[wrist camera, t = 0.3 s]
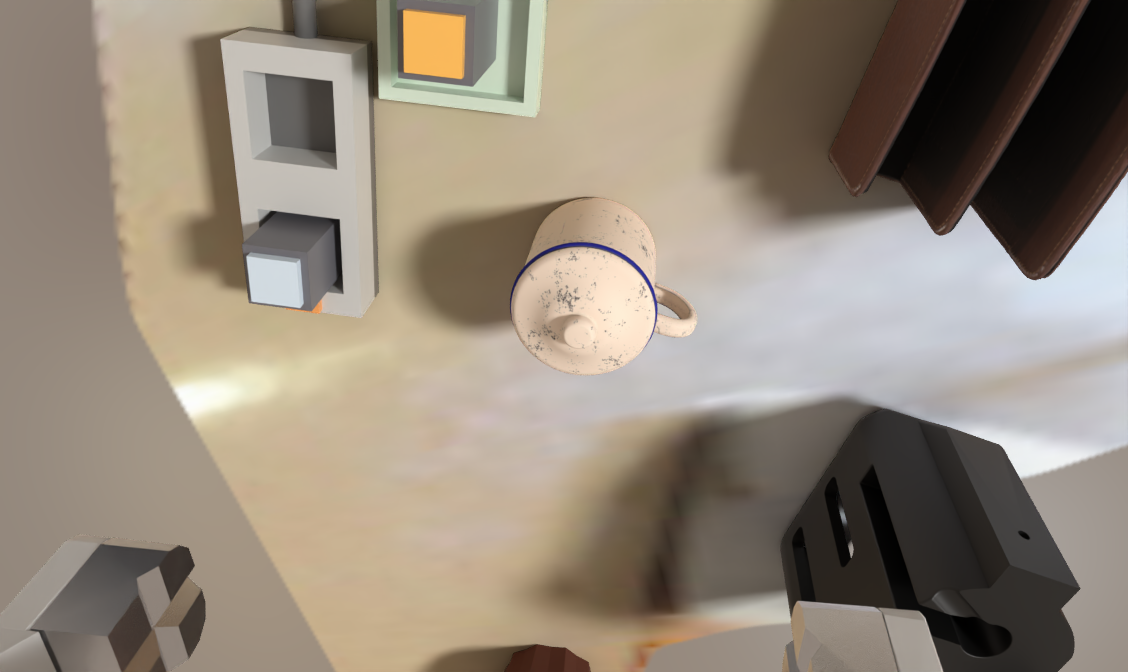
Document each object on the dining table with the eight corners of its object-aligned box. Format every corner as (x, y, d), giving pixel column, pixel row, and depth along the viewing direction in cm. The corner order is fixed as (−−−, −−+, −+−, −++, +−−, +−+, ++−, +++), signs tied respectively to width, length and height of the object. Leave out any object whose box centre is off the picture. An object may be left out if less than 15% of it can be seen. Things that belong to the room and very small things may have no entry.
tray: (384, -80, 50) (374, -77, 48) (552, -62, 49) (547, -59, 47) (388, 90, 55) (378, 98, 53) (539, 108, 54) (535, 117, 52)
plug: (430, -21, 50) (393, -1, 44) (499, -13, 50) (472, 8, 44) (429, 51, 52) (395, 80, 46) (495, 59, 52) (470, 89, 46)
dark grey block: (286, 203, 58) (237, 247, 52) (345, 211, 58) (303, 256, 52) (291, 258, 61) (244, 307, 54) (348, 265, 60) (308, 315, 54)
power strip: (239, -77, 51) (202, -71, 47) (368, -63, 50) (342, -56, 46) (274, 278, 63) (247, 307, 59) (378, 292, 62) (358, 322, 58)
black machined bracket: (764, 557, 71) (797, 814, 52) (887, 366, 61) (984, 601, 42) (891, 600, 72) (969, 868, 53) (1035, 418, 61) (1196, 671, 42)
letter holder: (1163, -141, 44) (1349, -137, 32) (971, 200, 54) (1057, 302, 42) (985, -199, 44) (1104, -217, 32) (824, 156, 54) (868, 245, 42)
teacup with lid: (515, 287, 61) (483, 374, 51) (551, 174, 56) (524, 244, 46) (670, 339, 62) (670, 434, 52) (719, 231, 57) (728, 312, 47)
